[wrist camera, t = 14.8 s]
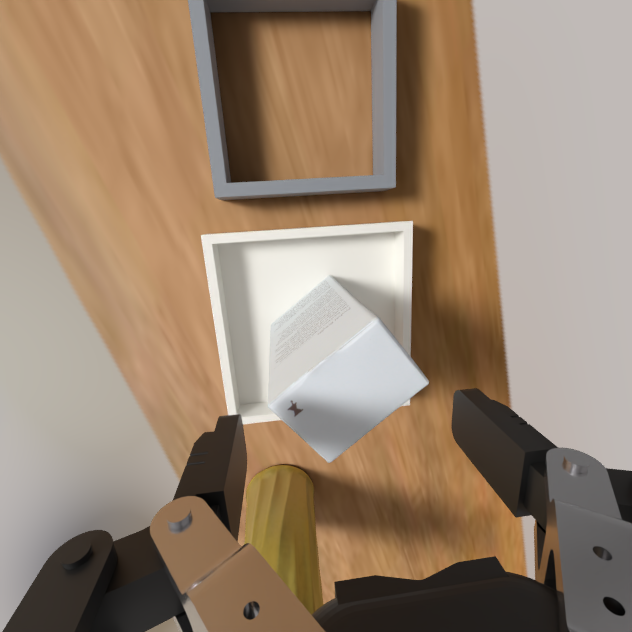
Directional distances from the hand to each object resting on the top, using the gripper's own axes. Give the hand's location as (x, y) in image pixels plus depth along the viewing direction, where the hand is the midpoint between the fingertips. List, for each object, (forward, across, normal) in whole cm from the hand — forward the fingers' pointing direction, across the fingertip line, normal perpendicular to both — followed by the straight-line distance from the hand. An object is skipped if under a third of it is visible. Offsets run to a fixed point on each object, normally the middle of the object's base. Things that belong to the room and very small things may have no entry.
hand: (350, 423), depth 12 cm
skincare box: (+14, 0, 0) cm, 14 cm away
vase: (+14, +4, +16) cm, 22 cm away
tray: (+14, 0, 0) cm, 14 cm away
